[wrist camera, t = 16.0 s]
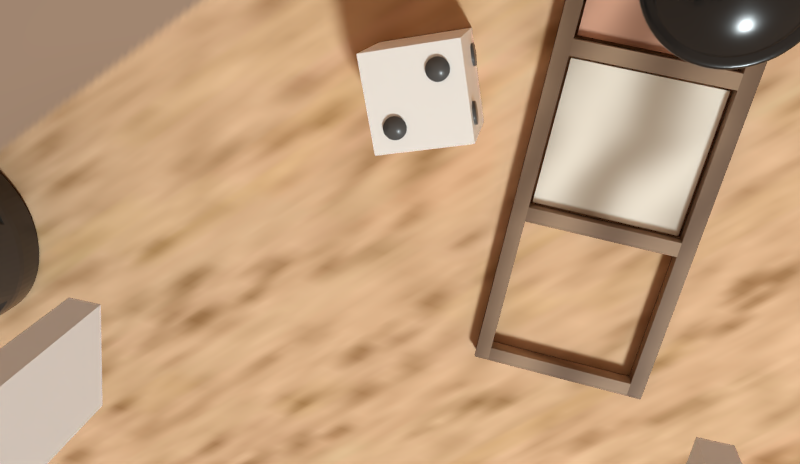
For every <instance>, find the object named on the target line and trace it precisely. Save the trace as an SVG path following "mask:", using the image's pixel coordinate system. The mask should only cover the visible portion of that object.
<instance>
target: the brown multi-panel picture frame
mask: <svg viewBox="0 0 800 464" xmlns="http://www.w3.org/2000/svg"><path fill="white" fill-rule="evenodd" d="M583 1H584V0H565V4H564V8H563V12H562V16H561V19H560V23H559V27H558V31H557V35H556V39H555V43H554V47H553V51H552V55H551V58H550V62H549V66H548V70H547V74H546V78H545V82H544V86H543V90H542V94H541V97H540V101H539V105H538V109H537V113H536V117H535V121H534V125H533V129H532V133H531V136H530V140H529V144H528V148H527V152H526V156H525V160H524V164H523V168H522V172H521V175H520V179H519V183H518V187H517V191H516V195H515V199H514V203H513V207H512V211H511V214H510V218H509V222H508V226H507V230H506V234H505V238H504V242H503V246H502V250H501V253H500V257H499V261H498V265H497V269H496V273H495V277H494V281H493V285H492V289H491V292H490V296H489V300H488V304H487V308H486V312H485V316H484V320H483V324H482V328H481V331H480V335H479V339H478V343H477V347H476V352H475V356H476V357H480V358H484V359H487V360H491V361H495V362H499V363H503V364H507V365H510V366H514V367H518V368H522V369H526V370H530V371H533V372H537V373H541V374H545V375H549V376H553V377H556V378H560V379H564V380H568V381H572V382H576V383H579V384H583V385H587V386H591V387H595V388H599V389H602V390H606V391H610V392H614V393H618V394H622V395H625V396H629V397H633V398H637V399H641V397H642V394H643V392H644V389H645V386H646V384H647V381H648V378H649V376H650V373H651V370H652V368H653V365H654V362H655V360H656V357H657V354H658V352H659V349H660V346H661V344H662V341H663V338H664V336H665V333H666V330H667V328H668V325H669V322H670V320H671V317H672V314H673V312H674V309H675V306H676V304H677V301H678V298H679V296H680V293H681V290H682V288H683V285H684V282H685V280H686V277H687V274H688V272H689V269H690V266H691V264H692V261H693V258H694V256H695V253H696V250H697V248H698V245H699V242H700V240H701V237H702V234H703V232H704V229H705V226H706V224H707V221H708V218H709V216H710V213H711V210H712V208H713V205H714V202H715V200H716V197H717V194H718V192H719V189H720V186H721V184H722V181H723V178H724V176H725V173H726V170H727V168H728V165H729V162H730V160H731V157H732V154H733V152H734V149H735V146H736V144H737V141H738V138H739V136H740V133H741V130H742V128H743V125H744V122H745V119H746V117H747V114H748V111H749V109H750V106H751V103H752V101H753V98H754V95H755V93H756V90H757V87H758V85H759V82H760V79H761V77H762V74H763V71H764V69H765V66H766V63H767V62H764V63H761V64H758V65H755V66H751V67H747V68H741V69H740V71H736V70H717V69H709V68H704V67H700V66H697V65H694V64H691V63H689V62H686V61H684V60H682V59H677V58H672V57H667V56H662V55H658V54H653V53H648V52H643V51H638V50H633V49H628V48H623V47H619V46H614V45H609V44H604V43H599V42H594V41H589V40H584V39H580V38H575V37H574V35H575V31H576V27H577V24H578V20H579V16H580V12H581V9H582V5H583ZM577 35H580V36H585V37H589V38H594V39H599V40H604V41H609V42H614V43H619V44H624V45H629V46H633V47H638V48H643V49H648V50H653V51H658V52H663V53H668V54H672V53H671V52H670V51H668V50H667V49H666V48H665V47H664V46H663V45H662V44H661V43H660V42H659V41H658V40H657V39H656V38H655V37H654V35H653V34H652V32H651V31H650V29H649V27H648V26H647V24H646V22H645V19H644V17H643V15H642V12H641V8H640V5H639V0H586V3H585V7H584V11H583V14H582V18H581V22H580V26H579V29H578V33H577ZM673 55H674V54H673ZM569 56H573V57H578V58H583V59H588V60H593V61H597V62H602V63H607V64H612V65H617V66H621V67H626V68H631V69H636V70H641V71H645V72H650V73H655V74H660V75H665V76H669V77H674V78H679V79H684V80H689V81H693V82H698V83H703V84H708V85H713V86H717V87H722V88H727V89H732V90H733V91H732V94H731V96H730V99H729V102H728V105H727V107H726V110H725V113H724V116H723V119H722V121H721V124H720V127H719V130H718V132H717V135H716V138H715V141H714V143H713V146H712V149H711V152H710V155H709V157H708V160H707V163H706V166H705V168H704V171H703V174H702V177H701V179H700V182H699V185H698V188H697V190H696V193H695V196H694V199H693V202H692V204H691V207H690V210H689V213H688V215H687V218H686V221H685V224H684V226H683V229H682V232H681V235H680V237H679V238H678V237H674V236H670V235H665V234H661V233H657V232H652V231H648V230H644V229H640V228H635V227H631V226H627V225H622V224H618V223H614V222H610V221H605V220H601V219H597V218H592V217H588V216H584V215H580V214H575V213H571V212H567V211H563V210H558V209H554V208H550V207H545V206H541V205H537V204H533V203H530V200H531V197H532V193H533V189H534V185H535V182H536V178H537V174H538V170H539V167H540V163H541V159H542V155H543V151H544V148H545V144H546V140H547V136H548V133H549V129H550V125H551V121H552V118H553V114H554V110H555V106H556V103H557V99H558V95H559V91H560V88H561V84H562V80H563V76H564V73H565V69H566V65H567V61H568V57H569ZM729 93H730V91H729V90H725V89H720V88H715V87H710V86H706V85H701V84H696V83H691V82H686V81H682V80H677V79H672V78H667V77H662V76H658V75H653V74H648V73H643V72H638V71H634V70H629V69H624V68H619V67H614V66H610V65H605V64H600V63H595V62H591V61H586V60H581V59H576V58H571V59H570V63H569V67H568V71H567V74H566V78H565V82H564V85H563V89H562V93H561V97H560V100H559V104H558V108H557V112H556V115H555V119H554V123H553V127H552V130H551V134H550V138H549V142H548V145H547V149H546V153H545V157H544V160H543V164H542V168H541V171H540V175H539V179H538V183H537V186H536V190H535V194H534V198H533V202H535V203H539V204H543V205H547V206H552V207H556V208H560V209H565V210H569V211H573V212H577V213H582V214H586V215H590V216H595V217H599V218H603V219H607V220H612V221H616V222H620V223H625V224H629V225H633V226H637V227H642V228H646V229H650V230H655V231H659V232H663V233H667V234H672V235H676V236H678V235H679V232H680V229H681V226H682V224H683V221H684V218H685V215H686V212H687V210H688V207H689V204H690V201H691V199H692V196H693V193H694V190H695V188H696V185H697V182H698V179H699V176H700V174H701V171H702V168H703V165H704V163H705V160H706V157H707V154H708V151H709V149H710V146H711V143H712V140H713V138H714V135H715V132H716V129H717V126H718V124H719V121H720V118H721V115H722V113H723V110H724V107H725V104H726V101H727V99H728V96H729ZM525 221H526V222H530V223H534V224H538V225H543V226H547V227H551V228H555V229H560V230H564V231H568V232H572V233H576V234H581V235H585V236H589V237H593V238H598V239H602V240H606V241H610V242H614V243H619V244H623V245H627V246H631V247H636V248H640V249H644V250H648V251H652V252H657V253H661V254H665V255H669V256H673V257H672V260H671V262H670V265H669V268H668V271H667V273H666V276H665V279H664V282H663V284H662V287H661V290H660V293H659V296H658V298H657V301H656V304H655V307H654V309H653V312H652V315H651V318H650V320H649V323H648V326H647V329H646V331H645V334H644V337H643V340H642V343H641V345H640V348H639V351H638V354H637V356H636V359H635V362H634V365H633V367H632V370H631V373H630V376H625V375H622V374H618V373H614V372H610V371H606V370H602V369H598V368H594V367H591V366H587V365H583V364H579V363H575V362H571V361H567V360H563V359H559V358H556V357H552V356H548V355H544V354H540V353H536V352H532V351H528V350H525V349H521V348H517V347H513V346H509V345H505V344H501V343H497V342H493V339H494V336H495V332H496V328H497V324H498V321H499V317H500V313H501V309H502V306H503V302H504V298H505V294H506V291H507V287H508V283H509V279H510V276H511V272H512V268H513V264H514V260H515V257H516V253H517V249H518V245H519V242H520V238H521V234H522V230H523V227H524V223H525Z"/></svg>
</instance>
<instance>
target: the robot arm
mask: <svg viewBox="0 0 800 464" xmlns="http://www.w3.org/2000/svg"><path fill="white" fill-rule="evenodd" d="M38 265H39V246H38V240H37V235H36V231H35V227H34V225H33V222H32V219H31V217H30V214H29V212H28V210H27V208H26V206H25V205H24V203H23V201H22V199H21V198H20V196H19V195H18V193H17V192H16V191H15V189H14V188H13V187H12V185H11V184H10V183H9V182H8V181H7V180H6V179H5V177H4V176H3V175H2V174H1V173H0V315H1V314H3V313H5V312H6V311H8V310H9V309H11V308H12V307H14V306H15V305H17V304H18V303H19V302H20V301H22V300H23V299H24V297H25V296H26V295H27V294H28V292H29V291H30V289H31V288H32V286H33V284H34V281H35V278H36V275H37V271H38ZM101 406H102V352H101V305H100V304H96V303H91V302H87V301H82V300H78V299H73V298H68V299H66V300H65V301H64V302H62V303H61V304H60V305H58V306H57V307H56V308H54V309H53V310H52V311H50V312H49V313H48V314H46V315H45V316H44V317H42V318H41V319H40V320H38V321H37V322H35V323H34V324H33V325H31V326H30V327H29V328H27V329H26V330H25V331H23V332H22V333H21V334H19V335H18V336H17V337H15V338H14V339H13V340H11V341H10V342H9V343H7V344H6V345H5V346H3V347H2V348H1V349H0V464H47V463H48V462H49V461H50V460H51V459H52V458H53V457H54V456H55V455H56V454H57V453H58V452H59V451H60V450H61V449H62V448H63V447H64V446H65V444H66V443H67V442H68V441H69V440H70V439H71V438H72V437H73V436H74V435H75V434H76V433H77V432H78V431H79V430H80V429H81V428H82V427H83V425H84V424H85V423H86V422H87V421H88V420H89V419H90V418H91V417H92V416H93V415H94V414H95V413H96V412H97V411H98V410H99V409H100V408H101ZM686 464H742V463H741V460H740V458H739V455H738V453H737V451H736V448H735V446H734V445H729V444H725V443H720V442H716V441H711V440H707V439H702V438H698V437H696V439H695V442H694V445H693V447H692V450H691V453H690V455H689V458H688V461H687V463H686Z"/></svg>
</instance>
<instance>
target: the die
mask: <svg viewBox="0 0 800 464" xmlns="http://www.w3.org/2000/svg"><path fill="white" fill-rule="evenodd" d="M356 55H357V60H358V66H359V71H360V77H361V82H362V87H363V93H364V98H365V104H366V109H367V115H368V120H369V125H370V131H371V136H372V142H373V147H374V153H375V156H377V155H385V154H393V153H402V152H410V151H418V150H427V149H435V148H444V147H452V146H460V145H469V144H475V142H476V140H477V137H478V135H479V132H480V130H481V128H482V125H483V123H484V118H483V111H482V103H481V95H480V88H479V80H478V72H477V58H476V50H475V45H474V42H473V34H472V28H465V29H459V30H453V31H447V32H440V33H434V34H428V35H421V36H415V37H409V38H403V39H396V40H390V41H384V42H379V43H377V44H375V45H373V46H371V47H369V48H367V49H365V50H363V51H361V52H359V53H357V54H356Z"/></svg>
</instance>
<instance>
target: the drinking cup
mask: <svg viewBox="0 0 800 464" xmlns="http://www.w3.org/2000/svg"><path fill="white" fill-rule="evenodd" d="M639 5H640V8H641V12H642V15H643V17H644V19H645V22H646V24H647V26H648V27H649V29H650V31H651V32H652V34H653V35H654V37H655V38H656V39H657V40H658V41H659V42H660V43H661V44H662V45H663V46H664V47H665V48H666V49H667V50H668V51H670V52H671V53H672V54H674V55H675V56H677V57H679V58H680V59H682V60H684V61H686V62H689V63H691V64H694V65H697V66H700V67H704V68H709V69H717V70H732V69H741V68H747V67H751V66H755V65H758V64H761V63H764V62H767V61H769V60H771V59H774V58H776V57H778V56H779V55H781V54H783V53H785V52H786V51H788V50H789V49H791V48H792V47H794V46H795V45H796V44H798V43H799V42H800V0H639Z"/></svg>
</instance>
